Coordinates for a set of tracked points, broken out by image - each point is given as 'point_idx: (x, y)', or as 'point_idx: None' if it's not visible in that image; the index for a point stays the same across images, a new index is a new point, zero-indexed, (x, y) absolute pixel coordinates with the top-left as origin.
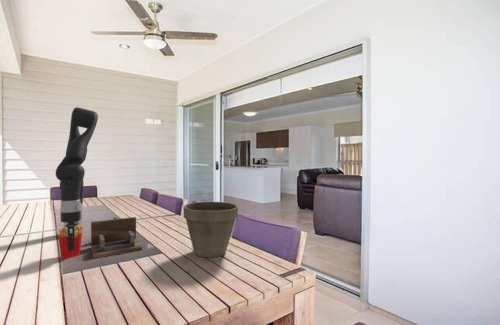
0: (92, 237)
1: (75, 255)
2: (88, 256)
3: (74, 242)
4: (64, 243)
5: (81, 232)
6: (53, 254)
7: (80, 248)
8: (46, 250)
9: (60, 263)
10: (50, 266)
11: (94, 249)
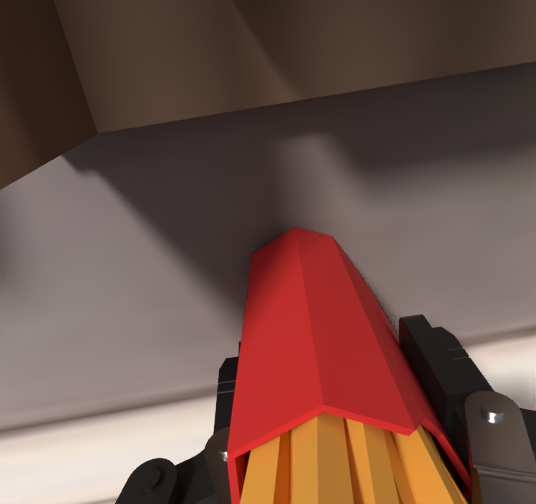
0: (33, 143)
1: (351, 262)
2: (433, 123)
3: (410, 373)
4: (456, 470)
5: (306, 416)
6: (197, 427)
7: (301, 251)
8: (60, 488)
9: (489, 338)
10: (515, 385)
11: (329, 64)
